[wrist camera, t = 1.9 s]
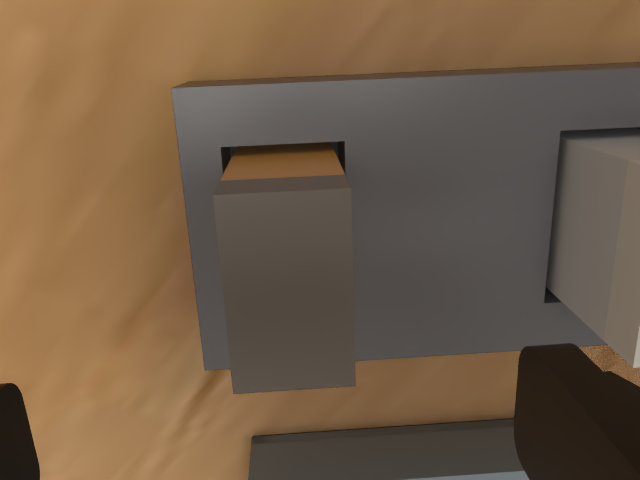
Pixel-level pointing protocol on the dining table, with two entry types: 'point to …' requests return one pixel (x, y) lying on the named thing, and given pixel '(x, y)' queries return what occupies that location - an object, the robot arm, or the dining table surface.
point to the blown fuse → (287, 267)
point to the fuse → (599, 234)
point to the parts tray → (392, 453)
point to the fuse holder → (416, 194)
